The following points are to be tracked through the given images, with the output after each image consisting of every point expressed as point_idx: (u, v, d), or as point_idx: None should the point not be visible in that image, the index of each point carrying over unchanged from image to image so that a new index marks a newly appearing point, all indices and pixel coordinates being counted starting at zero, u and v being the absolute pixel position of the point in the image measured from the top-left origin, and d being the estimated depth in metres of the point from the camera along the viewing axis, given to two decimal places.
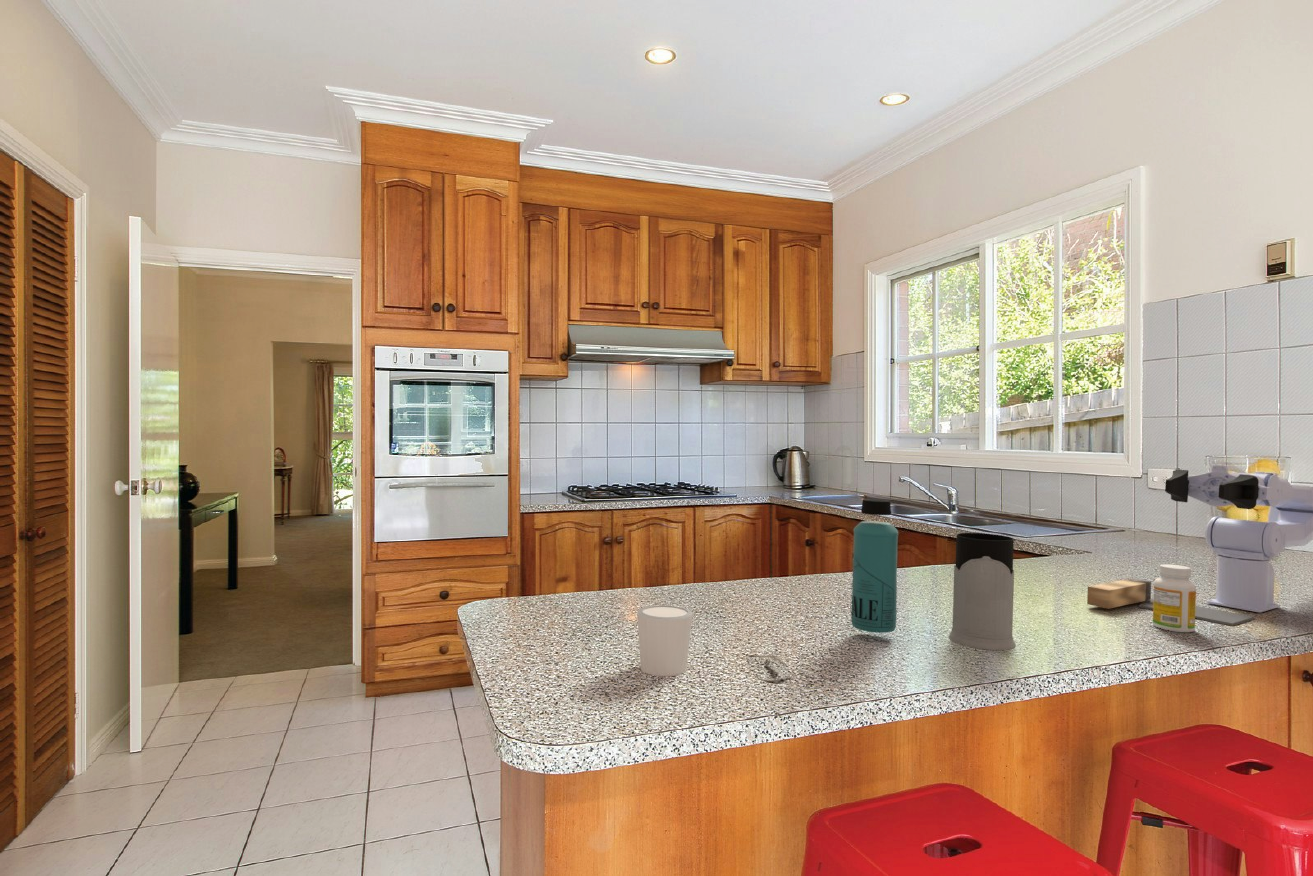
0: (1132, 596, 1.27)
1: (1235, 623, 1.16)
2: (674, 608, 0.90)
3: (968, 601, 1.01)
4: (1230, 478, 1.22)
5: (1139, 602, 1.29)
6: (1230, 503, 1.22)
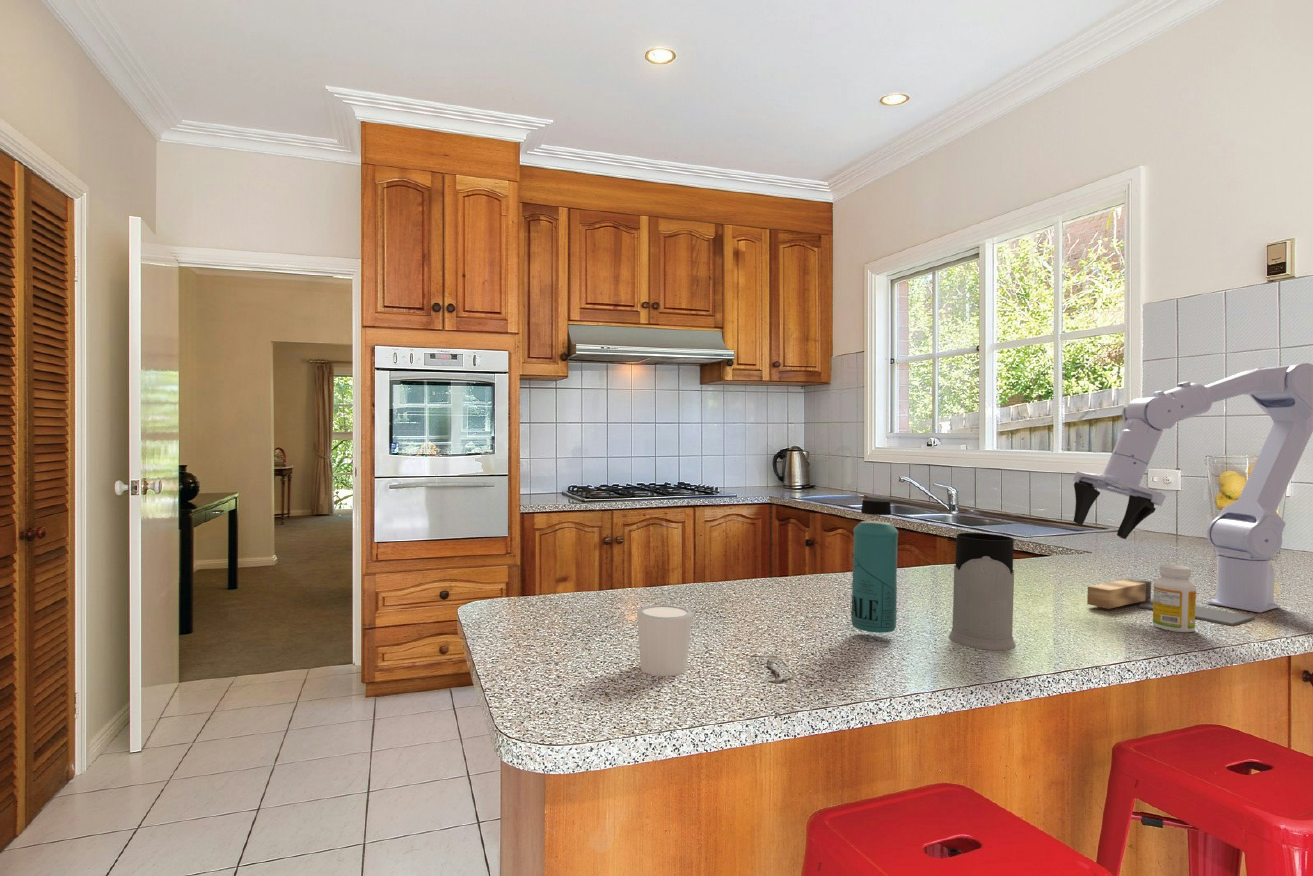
0: (1132, 596, 1.27)
1: (1235, 623, 1.16)
2: (674, 608, 0.90)
3: (968, 601, 1.01)
4: (1124, 486, 1.25)
5: (1139, 602, 1.29)
6: None
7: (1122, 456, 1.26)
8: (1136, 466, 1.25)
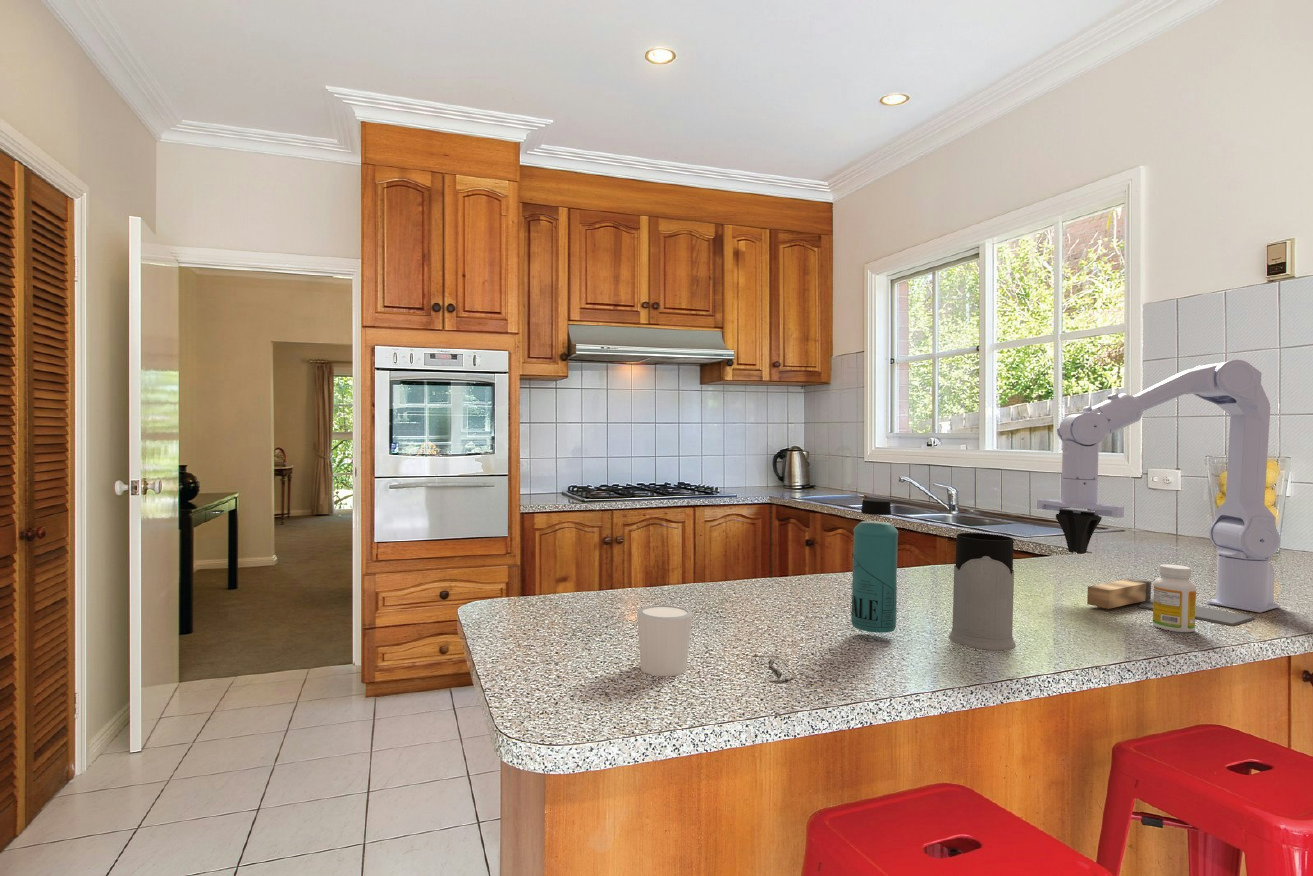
0: (1132, 596, 1.27)
1: (1235, 623, 1.16)
2: (674, 608, 0.90)
3: (968, 601, 1.01)
4: (1083, 508, 1.30)
5: (1139, 602, 1.29)
6: None
7: (1071, 480, 1.31)
8: (1087, 486, 1.30)
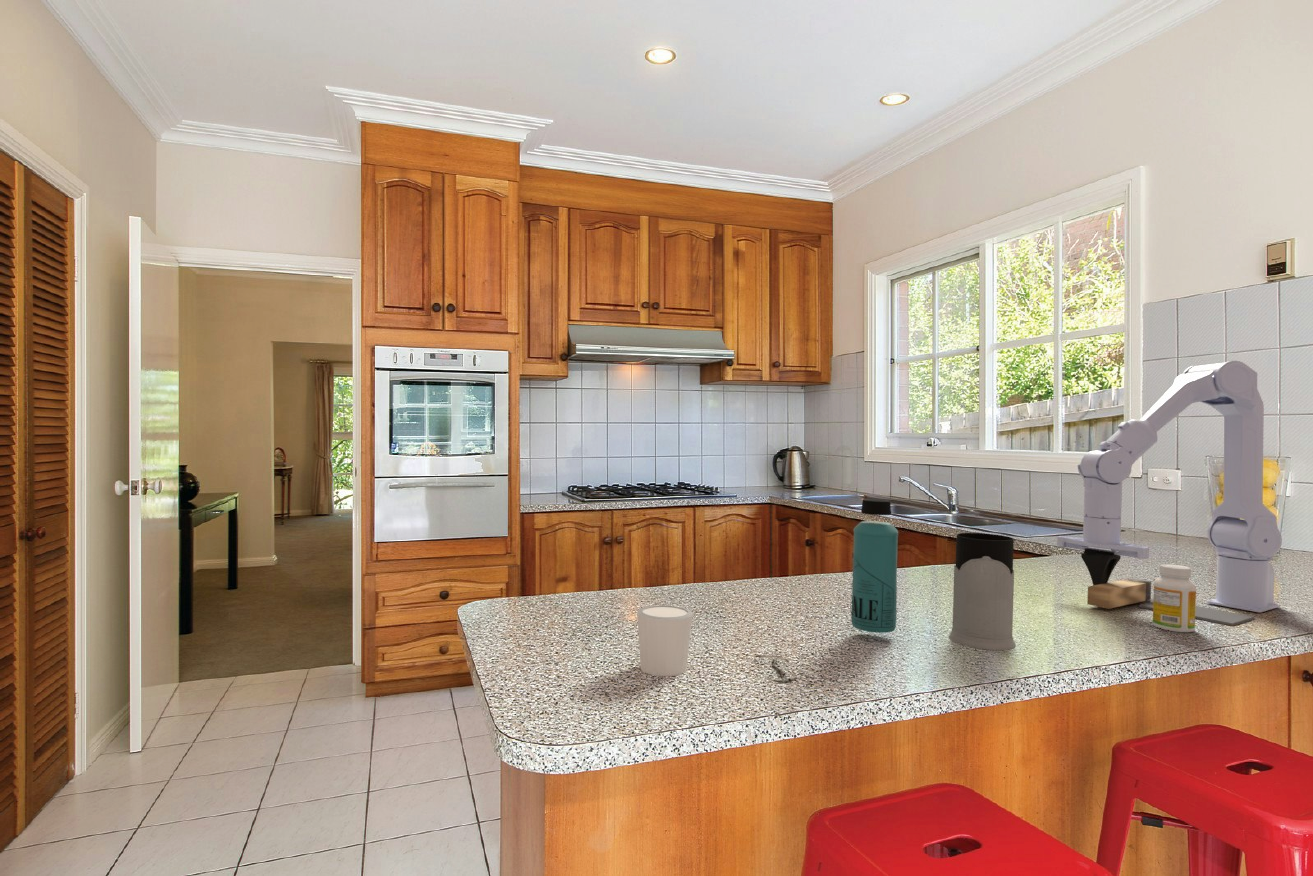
0: (1132, 596, 1.27)
1: (1235, 623, 1.16)
2: (674, 608, 0.90)
3: (968, 601, 1.01)
4: (1107, 548, 1.26)
5: (1139, 602, 1.29)
6: None
7: (1094, 519, 1.27)
8: (1111, 525, 1.26)
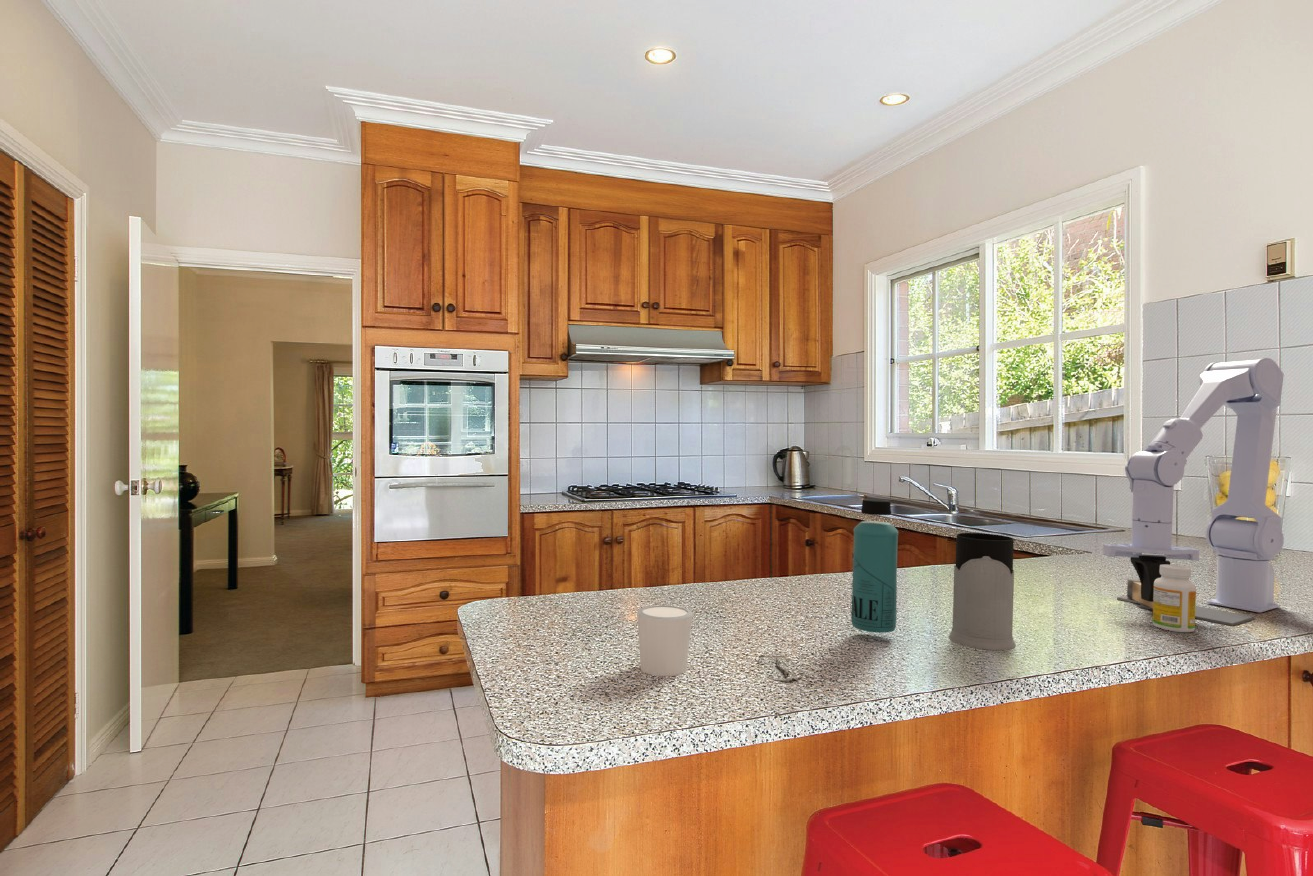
0: None
1: (1235, 623, 1.16)
2: (674, 608, 0.90)
3: (968, 601, 1.01)
4: None
5: (1139, 602, 1.29)
6: None
7: (1162, 524, 1.20)
8: (1171, 529, 1.21)
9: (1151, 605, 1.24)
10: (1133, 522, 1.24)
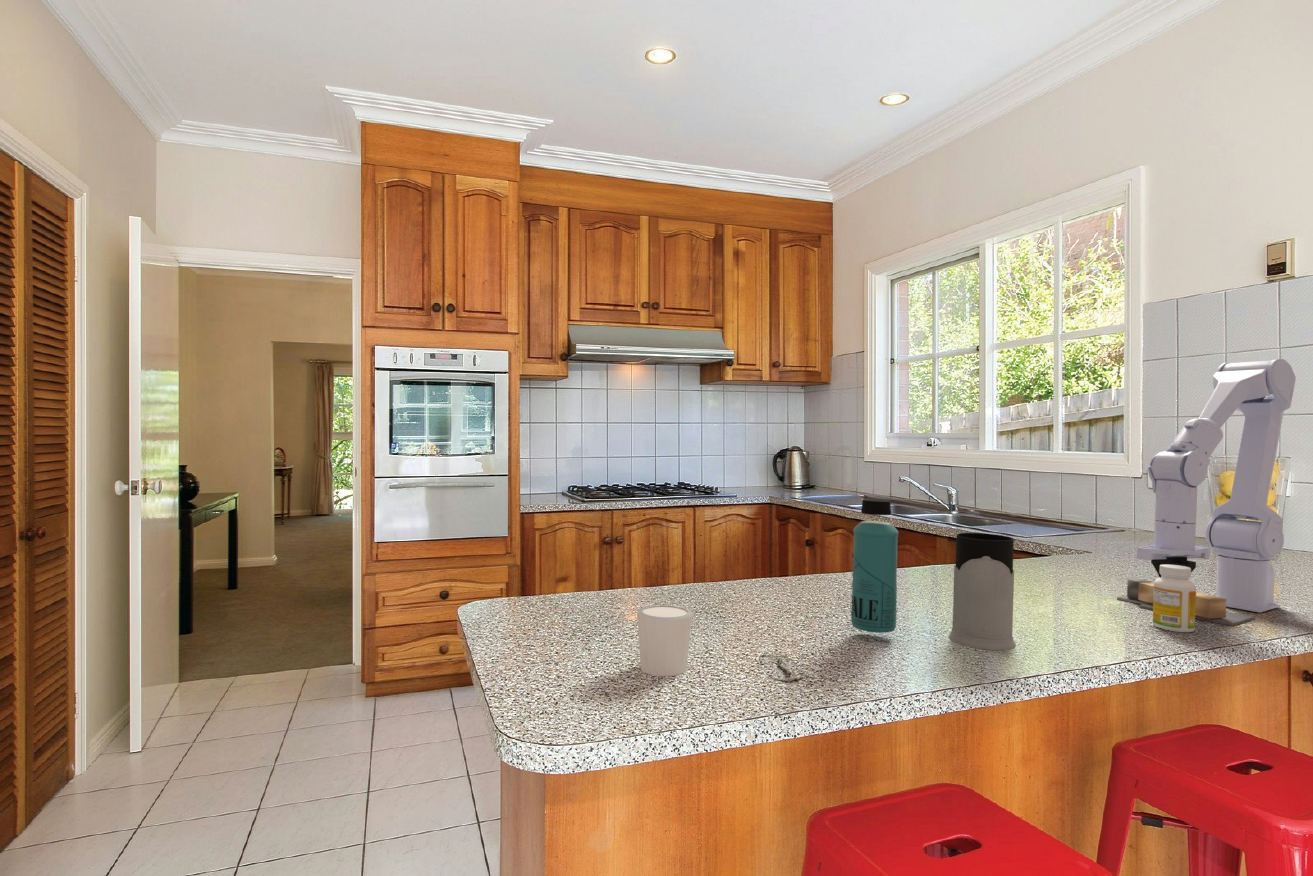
0: None
1: (1235, 623, 1.16)
2: (674, 608, 0.90)
3: (968, 601, 1.01)
4: None
5: (1139, 602, 1.29)
6: None
7: (1192, 525, 1.20)
8: None
9: None
10: (1161, 523, 1.22)
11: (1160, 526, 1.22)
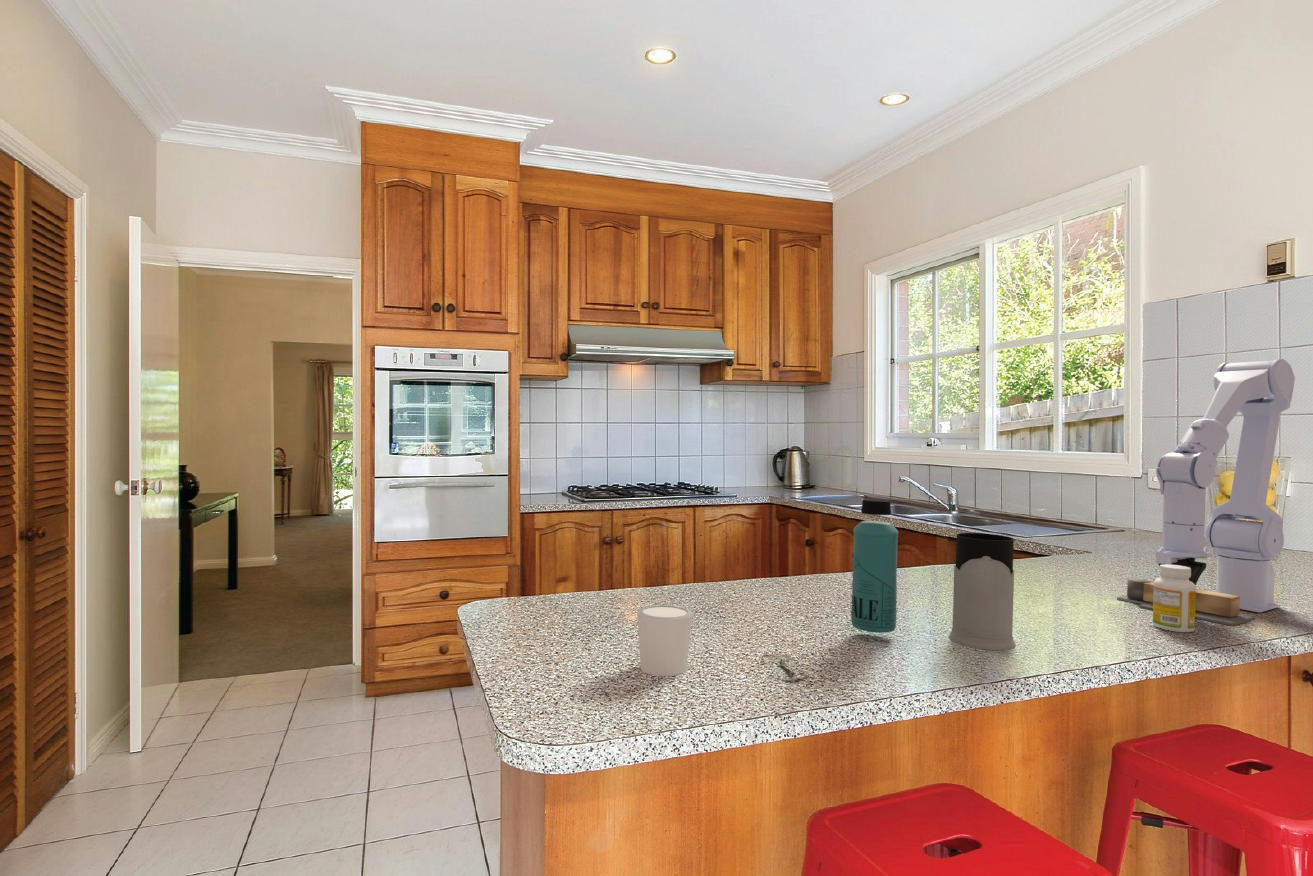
0: None
1: (1235, 623, 1.16)
2: (674, 608, 0.90)
3: (968, 601, 1.01)
4: None
5: (1139, 602, 1.29)
6: None
7: (1203, 527, 1.19)
8: None
9: None
10: (1173, 526, 1.20)
11: (1172, 528, 1.20)
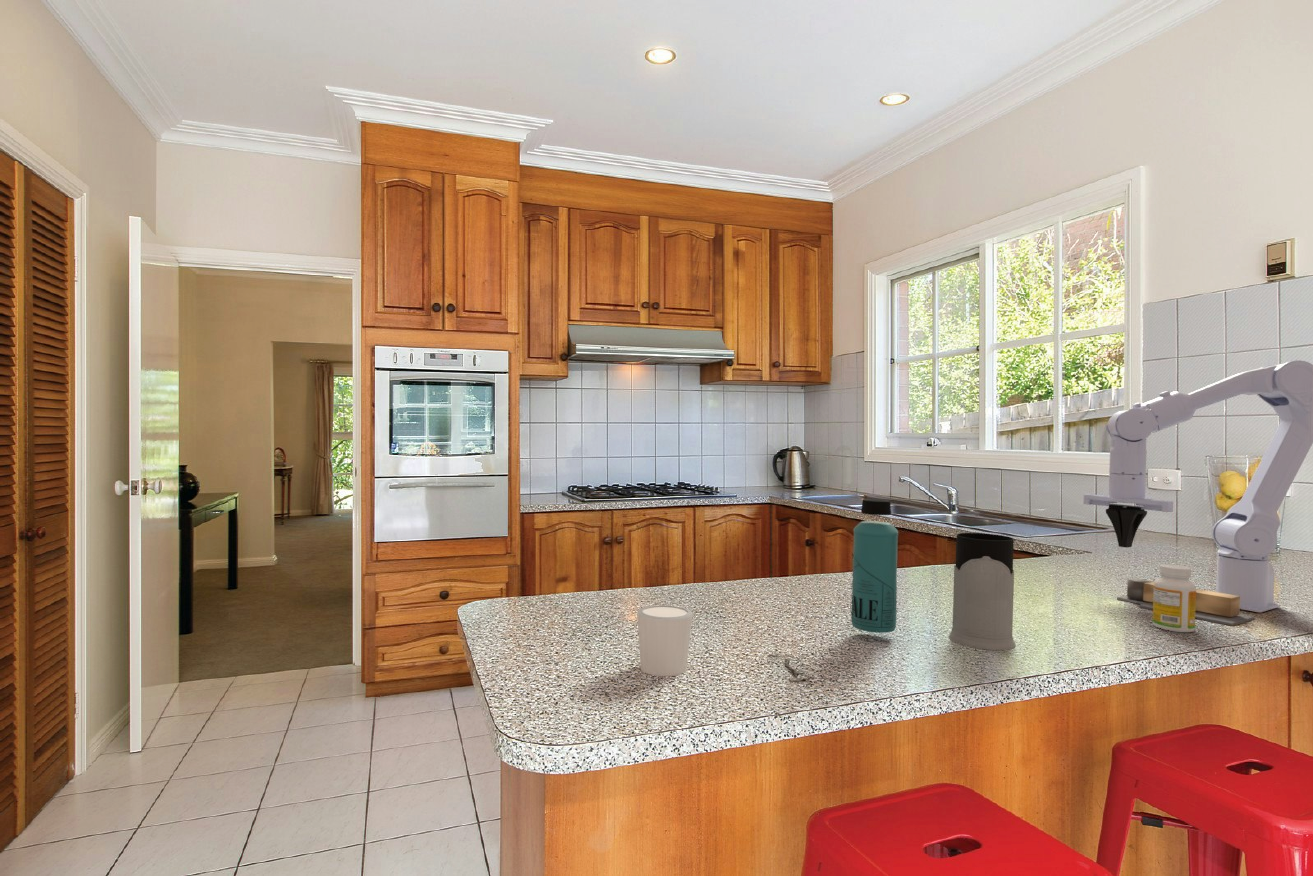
0: None
1: (1235, 623, 1.16)
2: (674, 608, 0.90)
3: (968, 601, 1.01)
4: None
5: (1139, 602, 1.29)
6: None
7: (1120, 475, 1.33)
8: (1136, 481, 1.31)
9: None
10: None
11: None
